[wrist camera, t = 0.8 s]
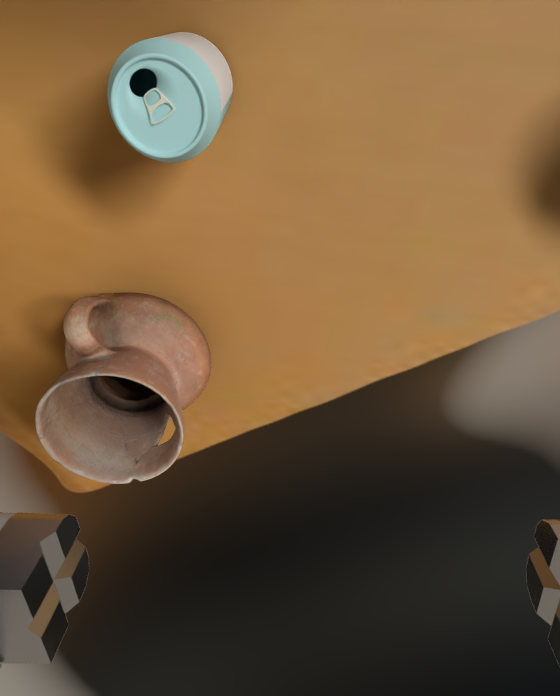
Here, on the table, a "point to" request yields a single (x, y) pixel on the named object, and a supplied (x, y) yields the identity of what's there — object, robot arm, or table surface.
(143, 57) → the can
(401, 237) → the table surface
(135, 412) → the ceramic jug
